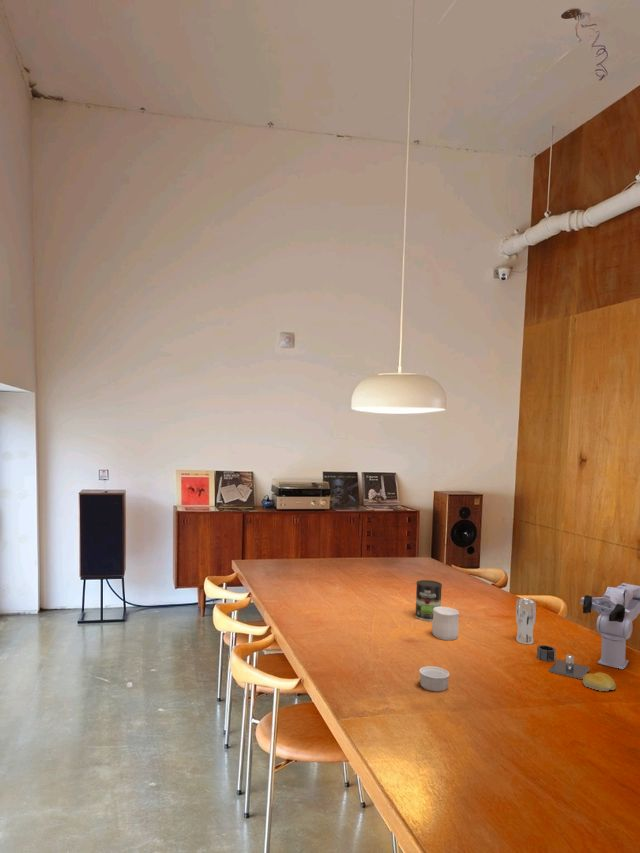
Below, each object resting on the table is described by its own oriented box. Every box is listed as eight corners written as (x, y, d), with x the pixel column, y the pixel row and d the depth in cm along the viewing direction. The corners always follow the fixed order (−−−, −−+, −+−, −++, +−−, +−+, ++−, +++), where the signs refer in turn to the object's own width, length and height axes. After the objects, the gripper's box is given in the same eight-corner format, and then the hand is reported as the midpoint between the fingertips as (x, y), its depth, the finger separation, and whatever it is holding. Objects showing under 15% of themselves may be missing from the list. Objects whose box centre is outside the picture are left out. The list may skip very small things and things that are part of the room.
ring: (540, 654, 209) (540, 644, 209) (556, 658, 205) (557, 648, 206) (535, 658, 204) (535, 648, 204) (552, 662, 201) (552, 652, 201)
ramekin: (427, 677, 185) (428, 663, 185) (454, 686, 179) (454, 671, 179) (413, 686, 178) (413, 671, 178) (440, 695, 173) (440, 680, 173)
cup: (451, 642, 217) (452, 615, 217) (426, 636, 223) (427, 610, 223) (462, 636, 225) (463, 610, 225) (438, 630, 231) (439, 604, 231)
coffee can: (439, 622, 240) (440, 587, 240) (413, 619, 243) (414, 584, 243) (441, 615, 250) (443, 581, 250) (417, 612, 253) (418, 579, 253)
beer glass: (519, 636, 226) (520, 597, 226) (537, 641, 222) (538, 600, 222) (511, 641, 221) (513, 600, 221) (530, 646, 217) (532, 604, 217)
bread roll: (576, 682, 186) (577, 669, 186) (601, 680, 188) (602, 667, 188) (595, 694, 178) (595, 680, 178) (620, 691, 180) (621, 678, 180)
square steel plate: (557, 661, 202) (558, 647, 202) (589, 669, 196) (590, 654, 196) (549, 671, 193) (549, 656, 193) (582, 680, 187) (582, 664, 187)
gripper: (588, 585, 202) (574, 594, 192) (635, 598, 193) (623, 608, 182) (585, 605, 203) (572, 615, 193) (632, 619, 193) (620, 631, 183)
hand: (597, 613), depth 188 cm, fingers open, 7 cm apart
